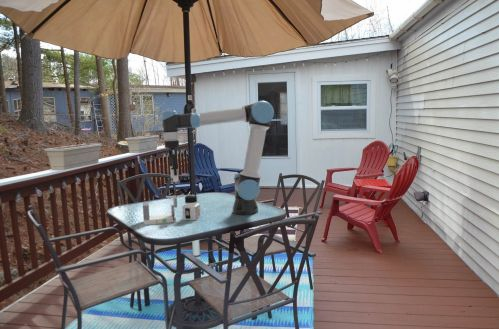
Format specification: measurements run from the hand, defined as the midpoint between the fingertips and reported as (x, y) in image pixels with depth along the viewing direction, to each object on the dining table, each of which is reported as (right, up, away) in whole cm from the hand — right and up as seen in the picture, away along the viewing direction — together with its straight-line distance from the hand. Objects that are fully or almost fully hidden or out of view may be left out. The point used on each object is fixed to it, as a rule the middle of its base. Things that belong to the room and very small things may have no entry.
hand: (174, 179), depth 203 cm
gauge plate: (-1, -22, +7) cm, 23 cm away
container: (+8, -22, +10) cm, 26 cm away
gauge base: (-9, -23, +6) cm, 26 cm away
